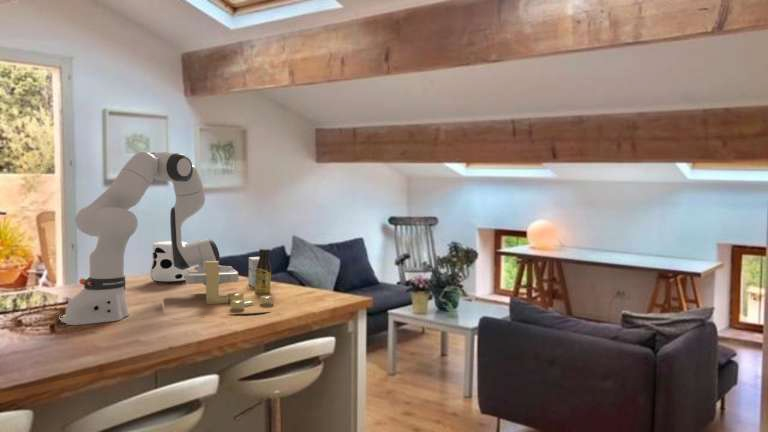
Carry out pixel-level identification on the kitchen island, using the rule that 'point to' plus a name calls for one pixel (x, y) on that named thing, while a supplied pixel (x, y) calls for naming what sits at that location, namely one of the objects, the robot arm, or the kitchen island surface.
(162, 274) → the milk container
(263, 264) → the sauce bottle
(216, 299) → the lever knob
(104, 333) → the kitchen island surface
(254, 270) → the supplement box
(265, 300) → the levelling plate
